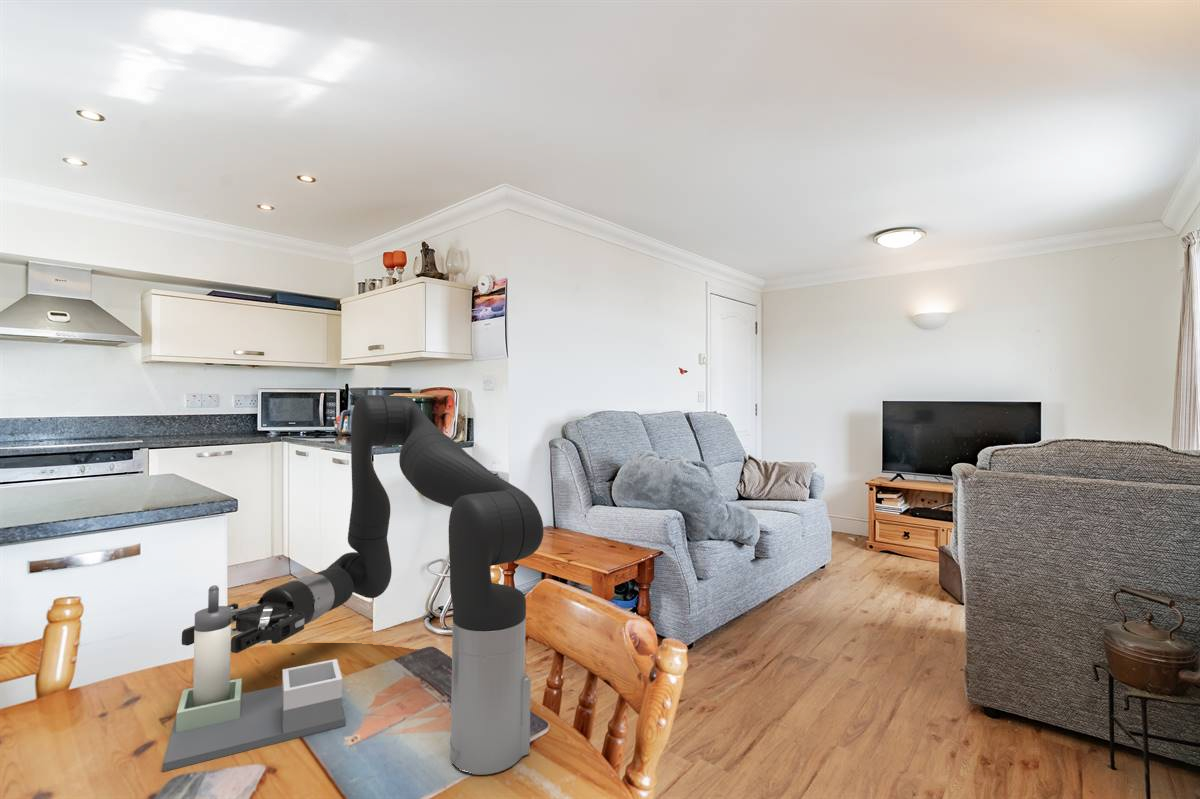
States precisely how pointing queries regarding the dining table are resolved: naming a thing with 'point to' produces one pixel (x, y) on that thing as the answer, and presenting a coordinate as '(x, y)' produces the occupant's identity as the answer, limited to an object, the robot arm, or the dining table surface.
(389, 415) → the robot arm
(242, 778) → the dining table surface
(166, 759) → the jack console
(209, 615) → the plug
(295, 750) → the dining table surface
